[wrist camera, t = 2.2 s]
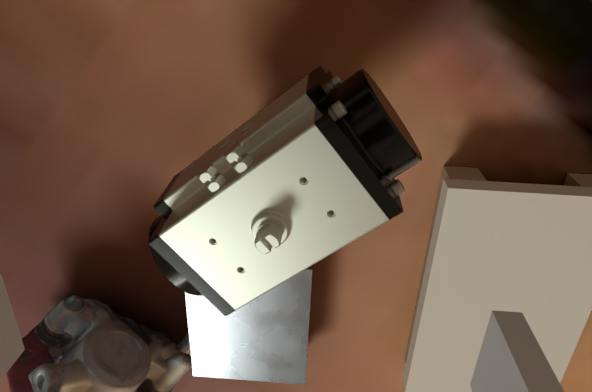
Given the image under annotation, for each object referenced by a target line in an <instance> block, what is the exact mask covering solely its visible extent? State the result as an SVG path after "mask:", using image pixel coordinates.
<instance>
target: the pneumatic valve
mask: <svg viewBox="0 0 592 392" xmlns="http://www.w3.org/2000/svg"><path fill="white" fill-rule="evenodd" d="M421 160H422V156H421V153H420V151H419V149H418V147H417V146H416V144H415V142H414V140H413V138H412V137H411V135H410V133H409V132H408V130H407V129H406V127H405V125H404V124H403V122H402V121H401V119H400V117H399V116H398V114H397V113H396V111H395V110H394V108H393V107H392V105H391V104H390V103H389V101H388V100H387V98H386V97H385V95H384V94H383V93H382V91H381V90H380V88H379V87H378V86H377V84H376V83H375V82H374V81H373V79H372V78H371V77H370V76H369V74H368V73H367V72H366V71H365V70H363V69H360V70H359V71H357V72H356V73H355V74H353V75H352V76H350V77H349V78H348V79H346V80H345V81H344V82H343V81H342V80H341V78H340V77H339V76H338V75H336V76H335V77H333V76H332V75H331V73H330V72H329V71H328V72H327V73H326V72H325V71H324V70H323V68H322V67H321V66H319V67H317V68H316V69H315V70H314V71H312V72H311V73H310V74H308V75H307V76H306V77H304V78H303V79H302V80H300V81H299V82H298V83H296V84H295V85H294V86H293V87H291V88H290V89H289V90H287V91H286V92H285V93H283V94H282V95H281V96H279V97H278V98H277V99H275V100H274V101H273V102H271V103H270V104H269V105H268V106H266V107H265V108H264V109H262V110H261V111H260V112H258V113H257V114H256V115H254V116H253V117H252V118H250V119H249V120H248V121H247V122H245V123H244V124H243V125H241V126H240V127H239V128H237V129H236V130H235V131H233V132H232V133H231V134H229V135H228V136H227V137H226V138H224V139H223V140H222V141H220V142H219V143H218V144H216V145H215V146H214V147H212V148H211V149H210V150H208V151H207V152H206V153H205V154H203V155H202V156H201V157H199V158H198V159H197V160H195V161H194V162H193V163H191V164H190V165H189V166H187V167H186V168H185V169H184V170H182V171H181V172H180V173H178V174H177V175H176V176H174V177H173V179H172V180H171V182H170V183H169V185H168V186H167V188H166V189H165V190H164V192H163V193H162V195H161V196H160V198H159V199H158V201H157V202H156V203H155V205H154V208H155V210H156V211H158V212H159V213H160V214H161V216H159V217H158V218H156V219H155V220H154V222H153V223H152V225H151V228H150V232H149V241H148V243H149V244H150V248H151V252H152V255H153V257H154V259H155V262H156V263H157V265H158V267H159V269H160V270H161V271H162V273H163V274H164V275H165V277H166V278H167V279H168V280H169V281H170V282H171V283H172V284H173V285H175V286H176V287H177V288H179V289H180V290H182V291H184V292H186V293H188V294H191V295H197V296H201V295H203V296H204V297H205V298H206V299H207V300H208V301H209V302H211V303H212V304H213V305H214V306H215V307H216V308H217V309H218V310H219V311H220V312H221V313H222V314H223V315H224V316H227V315H229V314H231V313H232V312H234V311H236V310H237V309H239V308H241V307H242V306H244V305H246V304H247V303H249V302H251V301H253V300H254V299H256V298H258V297H259V296H261V295H263V294H264V293H266V292H268V291H270V290H271V289H273V288H275V287H276V286H278V285H280V284H281V283H283V282H285V281H287V280H288V279H290V278H292V277H293V276H295V275H297V274H298V273H300V272H302V271H303V270H305V269H307V268H309V267H310V266H312V265H314V264H315V263H317V262H319V261H320V260H322V259H324V258H326V257H327V256H329V255H331V254H332V253H334V252H336V251H337V250H339V249H341V248H342V247H344V246H346V245H348V244H349V243H351V242H353V241H354V240H356V239H358V238H359V237H361V236H363V235H365V234H366V233H368V232H370V231H371V230H373V229H375V228H376V227H378V226H380V225H382V224H383V223H385V222H387V221H388V220H390V219H392V218H393V217H395V216H397V215H398V214H400V213H402V212H404V211H403V208H402V204H401V201H400V197H399V195H400V194H402V193H403V192H405V189H404V187H403V185H402V183H401V182H400V181H399V180H398V179H397V180H395V179H394V177H396V176H398V175H399V174H401V173H402V172H404V171H406V170H407V169H409V168H410V167H412V166H414V165H415V164H417V163H419V162H420V161H421Z"/></svg>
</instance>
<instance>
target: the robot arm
mask: <svg viewBox="0 0 592 392" xmlns="http://www.w3.org/2000/svg"><path fill="white" fill-rule="evenodd" d="M24 350H25V348H24V345H23V341H22V338H21V335H20V332H19V329H18V326H17V322H16V319H15V316H14V313H13V310H12V307H11V303H10V300H9V297H8V294H7V291H6V288H5V284H4V281H3V278H2V275H0V381H1V379H2V378H3V377H4V376H5V374H6V373H7V372H8V370H9V369H10V368H11V367H12V365H13V364H14V363H15V361H16V360H17V359H18V358H19V356H20V355H21V354H22V352H23V351H24ZM470 386H471V390H472V392H564V390H563V388H562V387H561V385H560V383H559V381H558V379H557V377H556V375H555V373H554V372H553V370H552V368H551V366H550V364H549V362H548V360H547V358H546V356H545V355H544V353H543V351H542V349H541V347H540V345H539V343H538V341H537V340H536V338H535V336H534V334H533V332H532V330H531V328H530V326H529V325H528V323H527V321H526V319H525V317H524V315H523V313H521V312H507V311H494V310H492V312H491V316H490V319H489V322H488V326H487V329H486V332H485V336H484V339H483V343H482V346H481V349H480V353H479V356H478V360H477V363H476V366H475V370H474V373H473V376H472V380H471V383H470Z"/></svg>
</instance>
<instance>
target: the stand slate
mask: <svg viewBox="0 0 592 392" xmlns="http://www.w3.org/2000/svg"><path fill="white" fill-rule="evenodd" d="M312 269H313V265H312V266H310V267H309V268H307V269H305V270H303V271H302V272H300V273H298V274H297V275H295V276H293V277H292V278H290V279H288V280H287V281H285V282H283V283H281V284H280V285H278V286H276V287H275V288H273V289H271V290H270V291H268V292H266V293H264V294H263V295H261V296H259V297H258V298H256V299H254V300H253V301H251V302H249V303H247V304H246V305H244V306H242V307H241V308H239V309H237V310H236V311H234V312H232V313H231V314H229V315H227V316H224V315H223V314H222V313H221V312H220V311H219V310H218V309H217V308H216V307H215V306H214V305H213V304H212V303H211V302H209V301H208V300H207V299H206V298H205V297H204V296H203V295H201V296H197V295H191V294H188V293H186V292H185V299H186V310H187V320H188V330H189V341H190V351H191V361H192V371H193V376H200V377H213V378H226V379H239V380H252V381H265V382H278V383H290V384H303V385H305V380H306V364H307V348H308V333H309V317H310V301H311V285H312Z"/></svg>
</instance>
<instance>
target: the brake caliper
mask: <svg viewBox="0 0 592 392" xmlns="http://www.w3.org/2000/svg"><path fill="white" fill-rule="evenodd" d="M22 341H23V345H24V348H25V350H24V351H23V352H22V354H21V355H20V356H19V358H18V359H17V360H16V361H15V363H14V364H13V365H12V367H11V368H10V369H9V370H8V372H7V373H6V375H7V378H8V383H9V388H10V392H171V391H172V389H173V388H174V386H175V385H176V384H177V382H178V381H179V380H180V379H181V378H182V377H183V376H184V374H185V373H186V372H187V371H188V370H189V369H190V368H191V366H192V361H191V356H190V355H188V354H189V353H190V352H191V351H190V341H189V332H188V333H187V334H186V336H185V337H183V339H182V340H181V342H180V343H177V344H176V343H175V341H174V340H173V339H172V338H171V337H170V336H169V335H168V334H165V333H160V332H156V331H154V330H152V329H149V328H147V327H145V326H143V325H141V324H139V323H137V322H135V321H134V320H132V319H129V318H127V317H123V316H120V315H118V314H117V313H115V312H114V311H113V310H112V309H111V308H110V307H109V306H107V305H106V304H104V303H102V302H100V301H98V300H95V299H83V298H82V297H80V296H76V295H72V296H70V297H67V298H64V299H62V300H61V301H60V302H59V303H58V304H57V305H56V306H55V307H54V308H53V309H52V310H50V311H49V312H48V313H47V314H46V316H45V317H44V319H43V320H42V322H41V323H40V324H38V325H37V326H36V327H35V328H33V329H32V330H31V331H30V332H29V333H28V335H26V336H25V337H23V338H22Z"/></svg>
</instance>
